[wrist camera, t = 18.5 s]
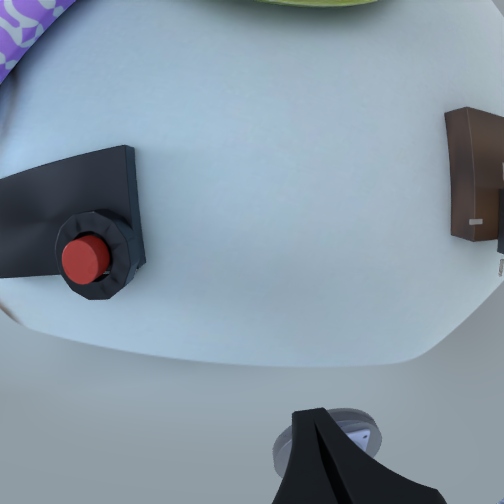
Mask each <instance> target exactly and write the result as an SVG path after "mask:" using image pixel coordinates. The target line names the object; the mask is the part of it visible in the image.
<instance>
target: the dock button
mask: <svg viewBox="0 0 504 504" xmlns="http://www.w3.org/2000/svg"><path fill="white" fill-rule="evenodd" d="M109 263H110V254H109V250H108V248H107V246H106V244H105V243H104V242H103V241H102V240H101V239H100V238H98V237H96V236H92V235H88V236H85V237H82V238H79V239H76V240H74V241H71V242H70V243H68V244H67V245H66V247H65V249H64V251H63V254H62V264H63V268H64V271H65V273H66V274H67V276H68V277H69V278H70V279H71V280H72V281H74V282H75V283H78V284H88V283H90V282H92V281H93V280H95V279H96V278H98V277H99V276H101V275H102V274H103V273H105V272H106V270H107V268H108V266H109Z"/></svg>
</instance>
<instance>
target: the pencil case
mask: <svg viewBox="0 0 504 504" xmlns="http://www.w3.org/2000/svg"><path fill="white" fill-rule="evenodd" d="M75 1H76V0H0V84H1V83H2V81H3V80H4V79H5V77H6V76H7V75H8V73H9V72H10V71H11V70H12V68H13V67H14V66H15V65H16V64H17V62H18V61H19V60H20V59H21V57H22V56H23V55H24V54H25V52H26V51H27V50H28V49H29V48H30V47H31V46H32V45H33V44H34V43H35V41H36V40H37V39H38V38H39V37H40V36H41V35H42V34H43V32H44V31H45V30H46V29H47V28H48V27H49V26H50V25H51V24H52V23H53V22H54V21H55V20H56V19H57V18H58V17H59V16H60V15H61V14H62V13H63V12H64V11H65V10H66V9H67V8H68V7H69V6H70V5H72V4H73V3H74V2H75Z"/></svg>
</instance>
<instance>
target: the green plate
mask: <svg viewBox="0 0 504 504" xmlns="http://www.w3.org/2000/svg"><path fill="white" fill-rule="evenodd" d="M254 1H260V2H265V3H271V4H278V5H286V6H297V7H344V6H354V5H361V4H366V3H371V2H375V1H378V0H254Z"/></svg>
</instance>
